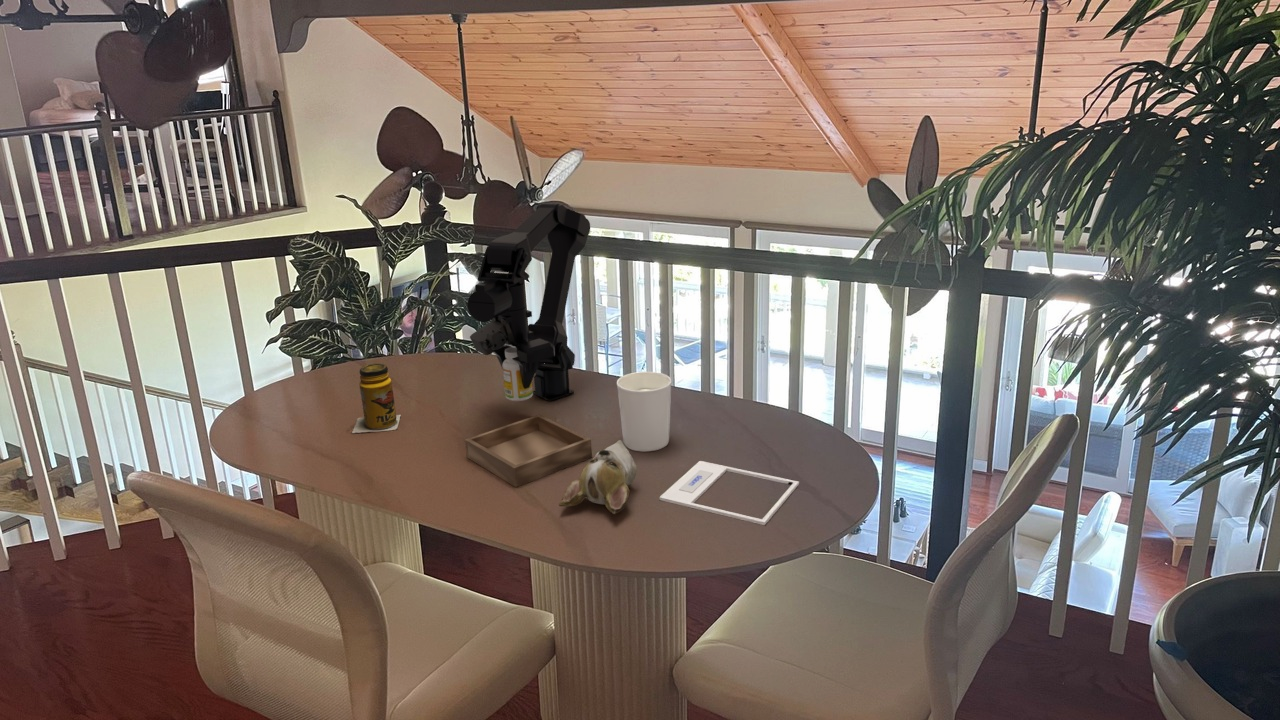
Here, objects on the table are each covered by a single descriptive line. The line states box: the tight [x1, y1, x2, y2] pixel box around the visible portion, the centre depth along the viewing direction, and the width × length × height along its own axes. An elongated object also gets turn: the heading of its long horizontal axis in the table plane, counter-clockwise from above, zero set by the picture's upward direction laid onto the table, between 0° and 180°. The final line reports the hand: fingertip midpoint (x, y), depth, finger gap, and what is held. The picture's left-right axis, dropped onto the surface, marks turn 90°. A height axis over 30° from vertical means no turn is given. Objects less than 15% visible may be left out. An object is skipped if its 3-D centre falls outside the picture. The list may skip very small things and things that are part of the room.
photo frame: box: [659, 460, 800, 526], centre depth 144 cm, size 15×1×18 cm
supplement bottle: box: [502, 347, 534, 402], centre depth 173 cm, size 5×5×10 cm
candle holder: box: [616, 371, 673, 452], centre depth 162 cm, size 10×10×12 cm
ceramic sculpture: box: [558, 439, 638, 515], centre depth 143 cm, size 11×9×15 cm
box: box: [464, 413, 593, 488], centre depth 159 cm, size 16×16×4 cm
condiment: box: [351, 363, 401, 434], centre depth 174 cm, size 7×8×12 cm
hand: (518, 384), depth 174 cm, fingers closed on supplement bottle, 5 cm apart
